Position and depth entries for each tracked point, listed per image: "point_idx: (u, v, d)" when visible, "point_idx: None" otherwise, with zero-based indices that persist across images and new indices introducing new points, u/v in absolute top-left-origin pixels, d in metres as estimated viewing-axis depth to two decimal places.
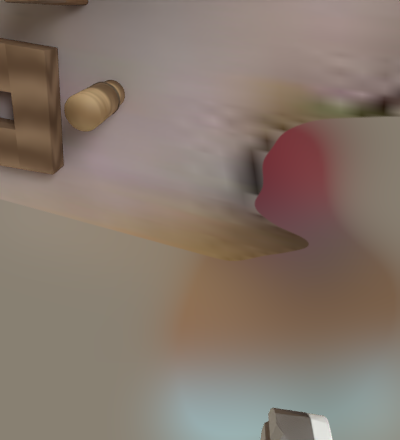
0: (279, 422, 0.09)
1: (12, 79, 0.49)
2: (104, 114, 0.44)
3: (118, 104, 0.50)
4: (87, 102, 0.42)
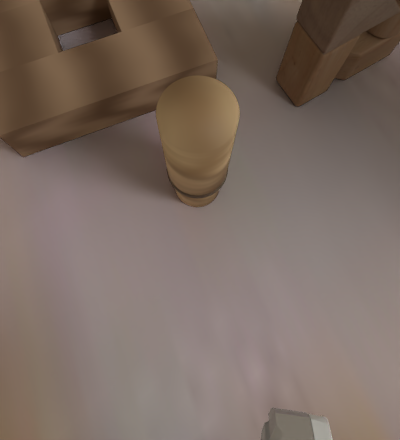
0: (279, 422, 0.09)
1: (145, 28, 0.29)
2: (209, 161, 0.20)
3: (205, 194, 0.26)
4: (226, 113, 0.19)
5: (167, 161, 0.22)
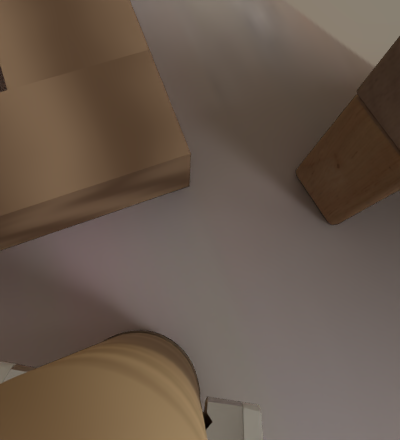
0: (210, 410, 0.09)
1: (54, 86, 0.15)
2: None
3: None
4: None
5: None
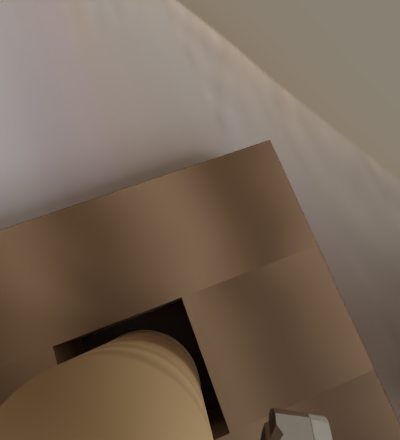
0: (279, 422, 0.09)
1: None
2: None
3: None
4: None
5: None
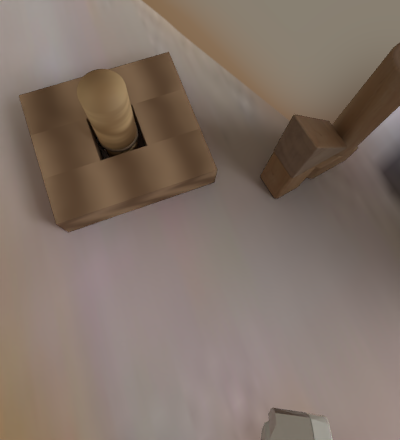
0: (279, 422, 0.09)
1: (164, 143, 0.40)
2: (110, 120, 0.33)
3: (120, 149, 0.39)
4: (118, 92, 0.32)
5: None
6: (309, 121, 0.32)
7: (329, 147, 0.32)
